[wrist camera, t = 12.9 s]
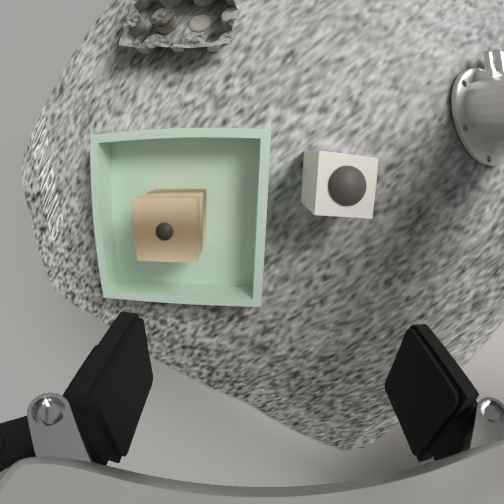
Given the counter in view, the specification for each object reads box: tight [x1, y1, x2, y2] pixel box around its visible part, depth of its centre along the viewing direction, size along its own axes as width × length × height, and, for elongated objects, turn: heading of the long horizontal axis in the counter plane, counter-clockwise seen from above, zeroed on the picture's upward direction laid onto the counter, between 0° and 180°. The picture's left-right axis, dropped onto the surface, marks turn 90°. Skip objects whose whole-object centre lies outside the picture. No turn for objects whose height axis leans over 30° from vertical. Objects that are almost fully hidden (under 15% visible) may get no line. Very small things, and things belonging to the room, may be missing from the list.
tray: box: [90, 128, 271, 307], centre depth 27 cm, size 16×16×4 cm
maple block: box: [133, 189, 207, 263], centre depth 25 cm, size 5×5×6 cm
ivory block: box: [301, 151, 378, 219], centre depth 25 cm, size 5×5×6 cm
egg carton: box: [119, 0, 238, 54], centre depth 20 cm, size 11×8×4 cm
